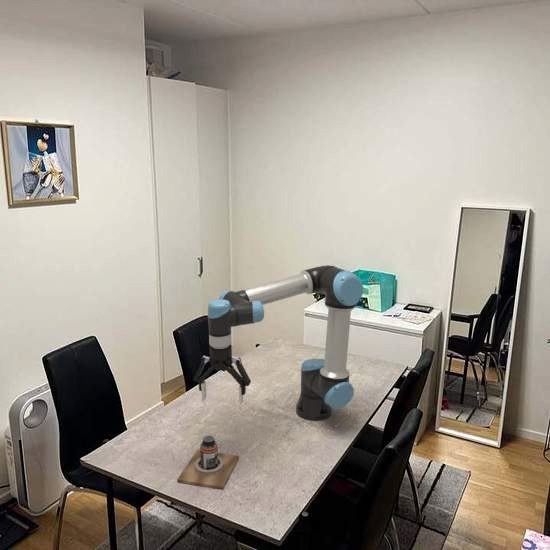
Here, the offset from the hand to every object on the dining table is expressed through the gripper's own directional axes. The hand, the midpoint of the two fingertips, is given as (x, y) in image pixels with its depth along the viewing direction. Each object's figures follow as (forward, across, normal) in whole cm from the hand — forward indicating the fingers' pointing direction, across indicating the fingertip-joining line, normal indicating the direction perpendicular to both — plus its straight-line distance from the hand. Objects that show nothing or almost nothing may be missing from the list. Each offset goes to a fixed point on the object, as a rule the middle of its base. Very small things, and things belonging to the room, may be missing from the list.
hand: (222, 400), depth 181 cm
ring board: (+22, +3, +9) cm, 24 cm away
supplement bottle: (+21, +3, +9) cm, 23 cm away
